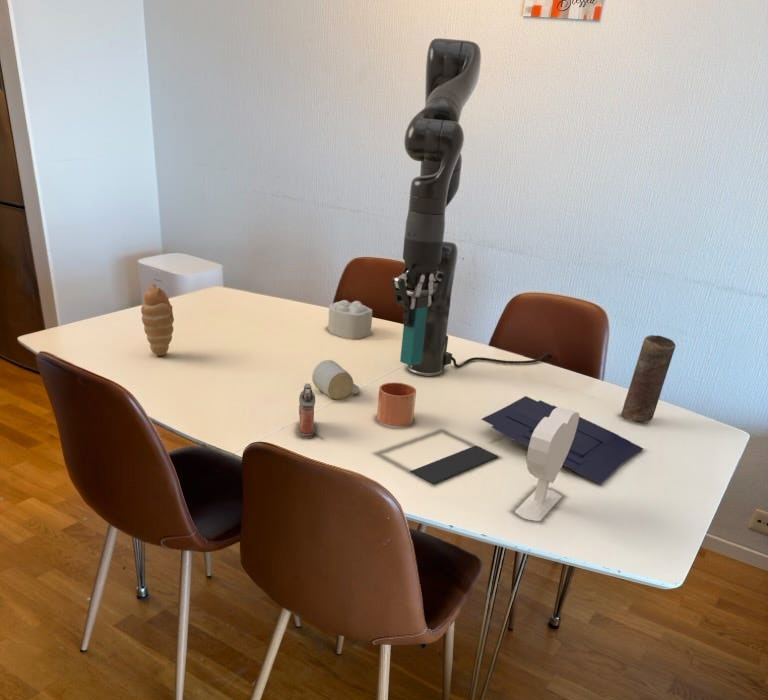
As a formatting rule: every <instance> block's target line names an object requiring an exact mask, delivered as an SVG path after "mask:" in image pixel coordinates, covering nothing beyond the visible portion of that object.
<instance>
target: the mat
mask: <svg viewBox="0 0 768 700" xmlns="http://www.w3.org/2000/svg"><path fill="white" fill-rule="evenodd" d="M498 457H499V455H497V454H495V453H493V452H491V451H489V450H486V449H484V448H483V447H480V446H479V445H473V446H471V447H469V448H466V449H463V450H460V451H458V452H455V453H453V454H450V455H447V456H445V457H443V458H440V459H437V460H435V461H433V462H430V463H428V464H425V465H422V466H420V467H418V468H415V469H411V470H409V473H412V474H413V475H415V476H417V477H419V478H421V479H423V480H425V481H426V482H428V483H430V484H432V485H436V484H438V483H441V482H444V481H446V480H448V479H450V478H453V477H455V476H457V475H460V474H462V473H464V472H466V471H467V472H468V471H470V470H471V469H474V468H477V467H479V466H481V465H483V464H486V463H488V462H490V461H493V460H495V459H497V458H498Z"/></svg>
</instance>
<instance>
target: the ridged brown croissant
mask: <svg viewBox="0 0 768 700" xmlns="http://www.w3.org/2000/svg"><path fill="white" fill-rule="evenodd" d="M169 299H170V298H169V297H168V295H167V293H166V292H165V291H164V290H162V289H161V287H157V285H156V284H155V283H154V282H152V283H151V286H150V288H148V289H147V290H146V291H145V292H144V295H143V303H142V305H141V309H140V313H141V315H142V316H141V322H142V324H143V330H144V333H145V335H146V339H147V342H148V343H149V348H150V350H151V352H152V354H153V355H155V356H156V357H157V356H158V357H162V356H165V355H166V354H167V353H168V351H169V348H170V344H171V342H172V340H173V333H174V326H173V324H174V321H175V318H174V317H175V316H174V313H173V306H172V304H171V302H170V300H169Z"/></svg>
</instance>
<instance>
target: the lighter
mask: <svg viewBox="0 0 768 700" xmlns="http://www.w3.org/2000/svg"><path fill="white" fill-rule="evenodd" d="M298 403H299V405H298V415H299V423H298V435H299V436H300V438H303V439H311V438H313V437H314V435H315V423H314V422H315V421H314V420H315V405H316V395H315V392H314V391H313V389H312V385H311V383H306V382H305V384H304V385H303V390H302V391H301V392H300V394H299V397H298Z"/></svg>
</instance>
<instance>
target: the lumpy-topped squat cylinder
mask: <svg viewBox="0 0 768 700" xmlns="http://www.w3.org/2000/svg"><path fill="white" fill-rule="evenodd" d="M372 322H373V309H372V308H371V307H368V306H366V305H364V304H363V303H362V302H361V301H359V300H354V301H352V302H349V300H346V299H343V300H340V301H336V302H333V303H330V304H329V306H328V322H327V323H328V324H327V325H328V327H327V330H328V332H330V333H331V334H332V335H335V336H337V337H342V338H345V339H349V340H360V339H363V338H364V337H365V338H366V337H368V336H371V334H372Z"/></svg>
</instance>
